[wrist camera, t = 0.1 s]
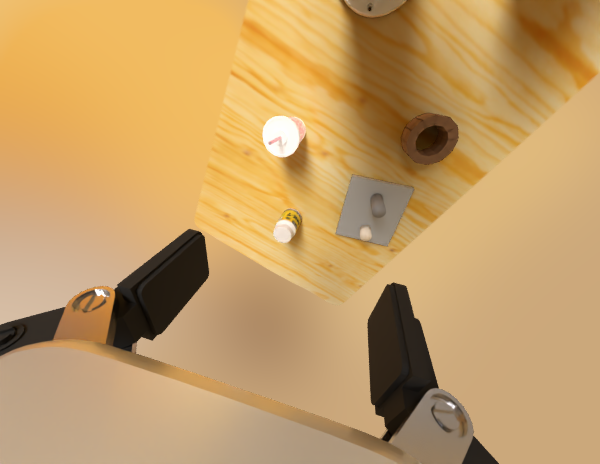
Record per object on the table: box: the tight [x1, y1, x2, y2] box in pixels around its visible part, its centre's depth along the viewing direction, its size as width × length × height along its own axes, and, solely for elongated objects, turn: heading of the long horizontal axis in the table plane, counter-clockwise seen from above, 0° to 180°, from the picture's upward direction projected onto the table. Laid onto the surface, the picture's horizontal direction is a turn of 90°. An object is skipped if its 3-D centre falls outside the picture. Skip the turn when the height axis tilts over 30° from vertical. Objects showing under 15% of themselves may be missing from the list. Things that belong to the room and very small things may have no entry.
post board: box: [336, 174, 414, 246], centre depth 44 cm, size 14×12×7 cm
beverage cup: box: [262, 116, 306, 157], centre depth 36 cm, size 6×6×14 cm
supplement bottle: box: [273, 209, 302, 243], centre depth 48 cm, size 5×5×8 cm
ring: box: [401, 113, 459, 165], centre depth 35 cm, size 7×7×5 cm
